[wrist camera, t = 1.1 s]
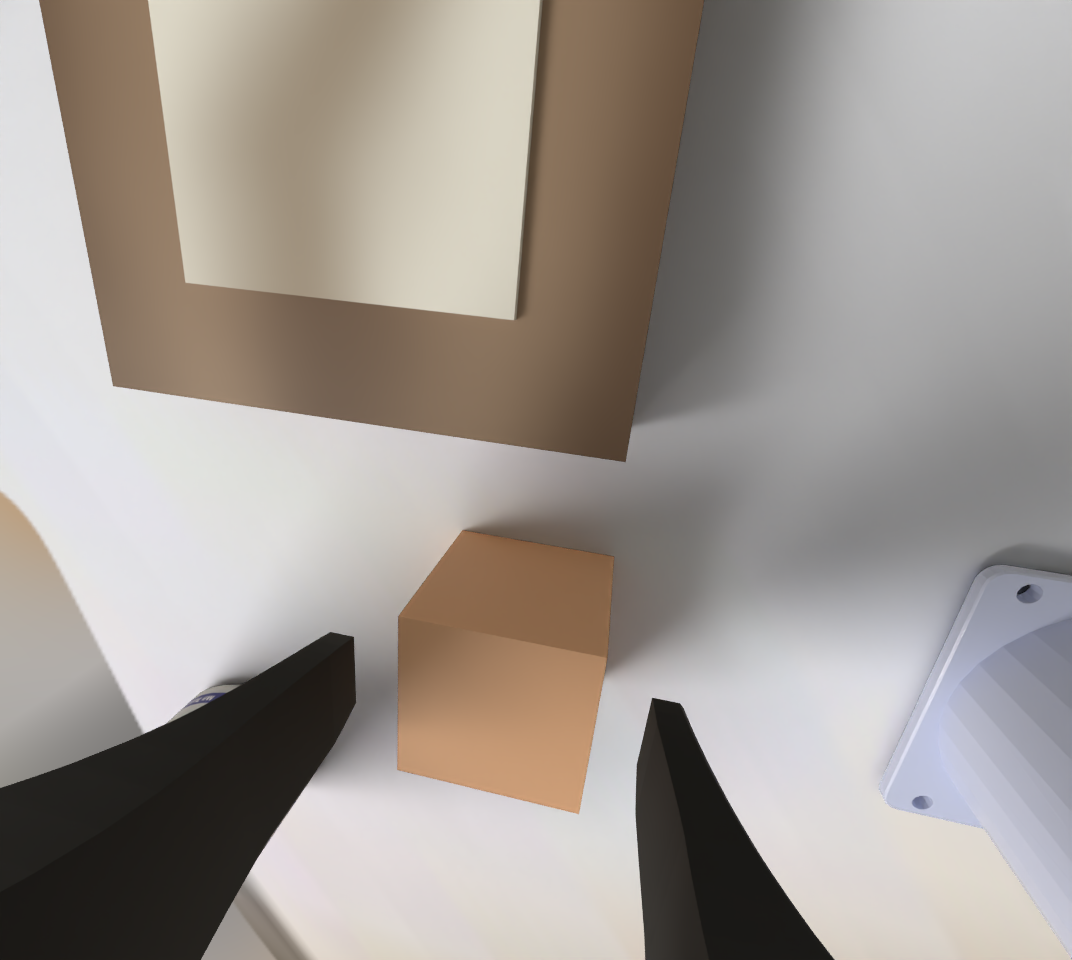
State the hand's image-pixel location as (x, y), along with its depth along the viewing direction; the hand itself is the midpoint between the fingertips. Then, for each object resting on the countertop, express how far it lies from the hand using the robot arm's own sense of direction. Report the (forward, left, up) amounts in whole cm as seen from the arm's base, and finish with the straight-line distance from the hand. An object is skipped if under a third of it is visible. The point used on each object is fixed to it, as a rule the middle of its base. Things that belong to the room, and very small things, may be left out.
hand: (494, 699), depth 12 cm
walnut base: (+4, -12, -4) cm, 13 cm away
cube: (0, 0, -4) cm, 4 cm away
